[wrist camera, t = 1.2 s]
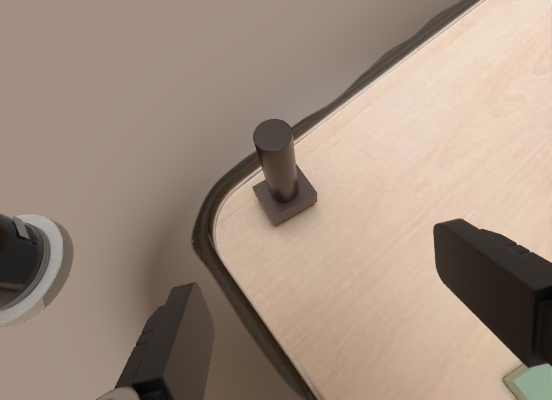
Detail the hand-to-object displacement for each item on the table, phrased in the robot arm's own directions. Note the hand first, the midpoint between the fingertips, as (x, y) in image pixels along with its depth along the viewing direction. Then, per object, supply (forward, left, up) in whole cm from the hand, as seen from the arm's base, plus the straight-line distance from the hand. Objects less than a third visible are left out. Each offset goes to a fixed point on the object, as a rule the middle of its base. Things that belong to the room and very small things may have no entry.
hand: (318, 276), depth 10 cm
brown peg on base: (+3, +11, -18) cm, 22 cm away
